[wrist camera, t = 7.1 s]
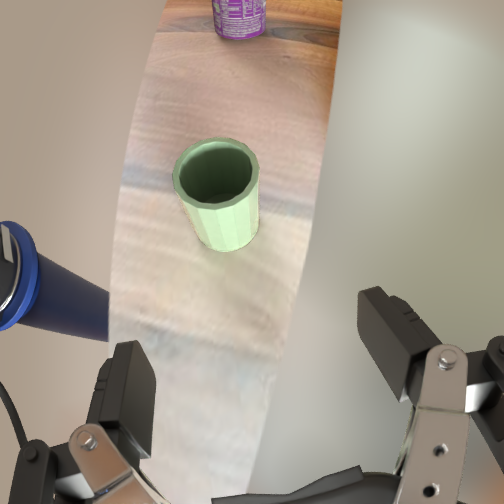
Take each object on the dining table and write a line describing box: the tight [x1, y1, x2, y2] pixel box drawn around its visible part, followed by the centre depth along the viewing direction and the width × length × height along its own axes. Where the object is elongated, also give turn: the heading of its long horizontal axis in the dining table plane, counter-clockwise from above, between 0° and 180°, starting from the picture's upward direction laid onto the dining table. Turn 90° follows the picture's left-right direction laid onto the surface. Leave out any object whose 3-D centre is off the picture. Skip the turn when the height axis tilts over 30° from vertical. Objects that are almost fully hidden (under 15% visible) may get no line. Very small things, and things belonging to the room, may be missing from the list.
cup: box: [172, 137, 260, 252], centre depth 24 cm, size 6×6×8 cm
